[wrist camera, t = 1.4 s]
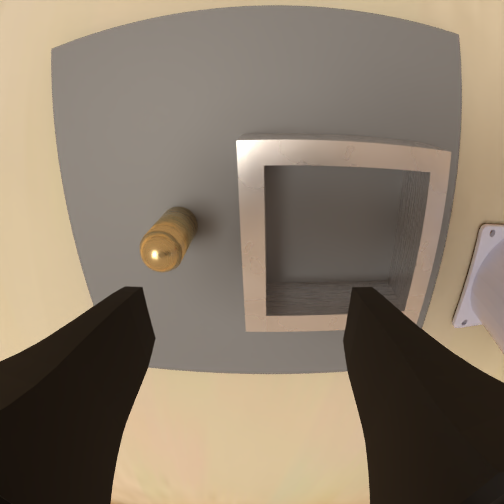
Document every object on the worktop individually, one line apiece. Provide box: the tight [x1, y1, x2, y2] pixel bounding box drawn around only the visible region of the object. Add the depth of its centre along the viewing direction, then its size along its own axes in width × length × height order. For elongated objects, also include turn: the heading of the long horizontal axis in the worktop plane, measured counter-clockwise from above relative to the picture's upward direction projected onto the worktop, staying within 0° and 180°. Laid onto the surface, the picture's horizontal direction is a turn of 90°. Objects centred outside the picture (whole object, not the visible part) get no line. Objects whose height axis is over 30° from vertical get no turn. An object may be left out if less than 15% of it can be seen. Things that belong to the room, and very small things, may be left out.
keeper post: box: [140, 207, 198, 272], centre depth 15 cm, size 2×2×5 cm
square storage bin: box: [236, 133, 451, 332], centre depth 14 cm, size 9×9×3 cm
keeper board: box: [51, 6, 462, 374], centre depth 16 cm, size 22×22×1 cm
